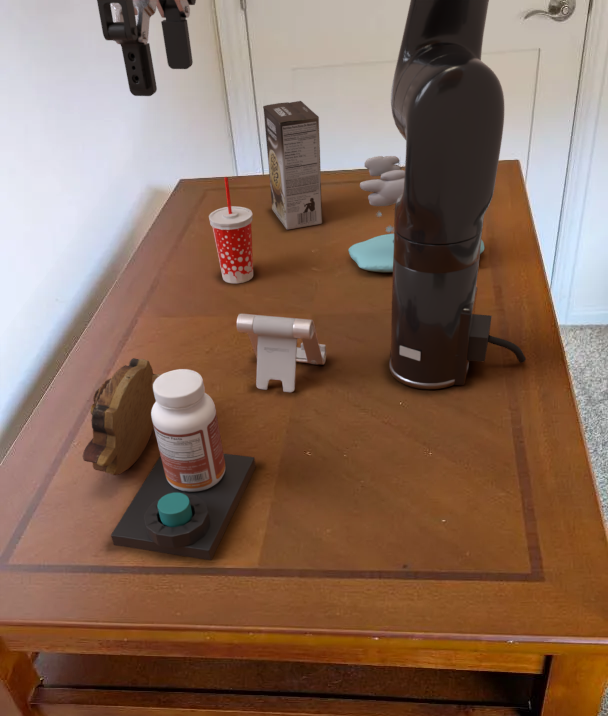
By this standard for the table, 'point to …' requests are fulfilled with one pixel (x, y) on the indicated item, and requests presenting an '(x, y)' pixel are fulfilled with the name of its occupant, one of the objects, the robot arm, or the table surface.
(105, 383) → the wooden carving
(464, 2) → the robot arm
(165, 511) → the tare button
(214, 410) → the pill bottle
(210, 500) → the black push button board
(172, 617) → the table surface
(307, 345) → the tablet stand
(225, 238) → the beverage cup
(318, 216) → the coffee box
